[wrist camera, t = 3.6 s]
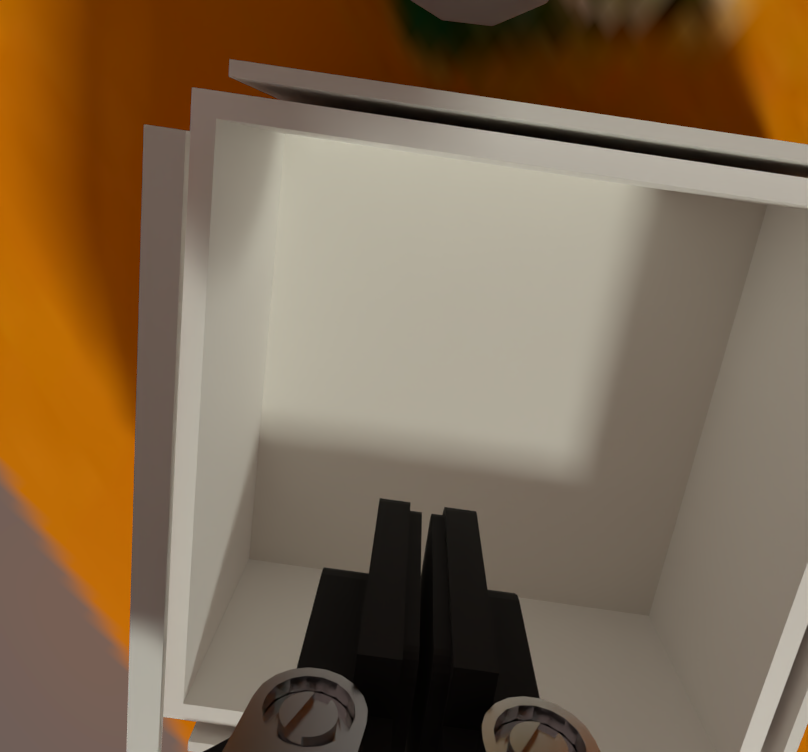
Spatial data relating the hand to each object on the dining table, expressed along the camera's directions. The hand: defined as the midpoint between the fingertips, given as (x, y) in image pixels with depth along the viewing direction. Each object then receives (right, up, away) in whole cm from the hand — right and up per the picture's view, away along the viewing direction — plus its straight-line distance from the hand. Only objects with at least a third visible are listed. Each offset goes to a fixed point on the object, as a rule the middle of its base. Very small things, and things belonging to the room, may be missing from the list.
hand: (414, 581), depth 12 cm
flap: (-4, +1, 0) cm, 4 cm away
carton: (+2, +3, +10) cm, 11 cm away
